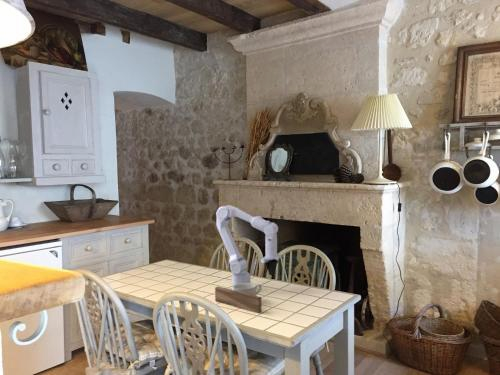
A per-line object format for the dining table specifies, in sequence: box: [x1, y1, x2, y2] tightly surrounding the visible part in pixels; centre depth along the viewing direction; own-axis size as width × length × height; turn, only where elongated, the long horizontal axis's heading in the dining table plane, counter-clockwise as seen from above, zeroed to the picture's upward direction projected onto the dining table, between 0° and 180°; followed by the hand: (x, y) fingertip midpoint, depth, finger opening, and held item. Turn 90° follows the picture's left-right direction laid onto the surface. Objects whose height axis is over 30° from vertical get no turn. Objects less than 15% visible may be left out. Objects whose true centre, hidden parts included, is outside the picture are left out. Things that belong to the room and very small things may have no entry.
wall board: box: [214, 286, 262, 314], centre depth 178 cm, size 2×26×7 cm, turn 51°
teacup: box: [233, 283, 263, 296], centre depth 184 cm, size 14×11×8 cm
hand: (271, 274), depth 196 cm, fingers closed
